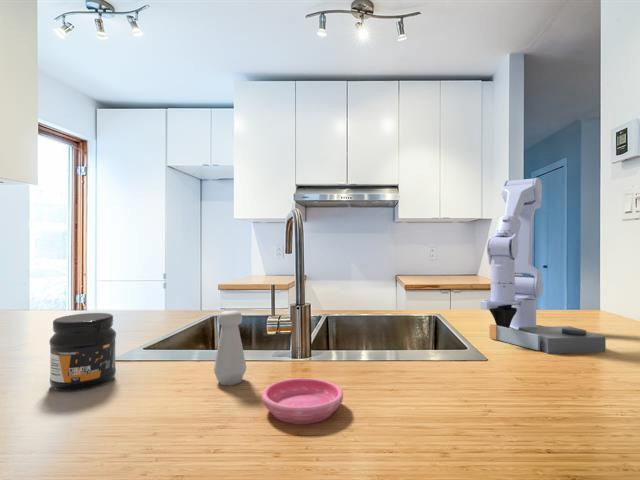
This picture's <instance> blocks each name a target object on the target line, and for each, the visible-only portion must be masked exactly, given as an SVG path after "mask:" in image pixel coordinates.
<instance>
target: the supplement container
mask: <svg viewBox="0 0 640 480" xmlns="http://www.w3.org/2000/svg"><path fill="white" fill-rule="evenodd" d="M112 326H114V315H113V314H111V313H107V312H89V313H87V312H86V313H78V314H70V315H65V316H64V315H63V316H61V317H57V318H55V319H53V321H52V332H53V333H54V334H53V335H52V336H51V337H50V339H49V346H50V347H49V349H50V351H49V352H50V354H49V357H50V358H49V359H50V363H49V364H50V366H49V369H50V370H49V371H50V373H49V374H50V377H49V384H50V386H51V387H52V388H53V389H55V390H58V391H61V392H76V391H84V390H89V389H94V388H96V387H100V386H102V385H105V384H107V383H109V382H110V381H111V380H113V378H114V377H115V376H116V373H117V368H116V339H117V332H116V331H115V330H114V328H113V327H112Z"/></svg>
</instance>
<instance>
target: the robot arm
mask: <svg viewBox="0 0 640 480" xmlns="http://www.w3.org/2000/svg"><path fill="white" fill-rule="evenodd" d="M501 196H502V199H503V200H504V203H505V208H504V213H503V215H502V216H500V217H499V218H498V221H497V223H496V225H495V226H496V227H495V230H494V233H493V236H492V237H491V238H489V239H488V240H487V242H486V243H487V245H486V253H487V257H488V264H489V266H490V298H488V299H485V300H480V309H481V310H486V311H487V310H488V311H489V312H490V314H491V315H492V317H493V318H494V319H493V320H494V323H495V325H498V326H502V327H506V328H511V329H515V330H519V327H540V326H538V325H537V299H538V298H540V297H541V296H542V294H543V285H544V283H543V274H542V272H541V270H539V269H538V268H536V267H535V266H534V265H533V264H532V262H533V261H532V260H533V237H534V216H535V212H536V211H537V210H538V209H540V208H541V207H542V206H541V205H542V201H543V185H542V180H541V179H540V178H539V177H534V178H526V179H515V180H505V181H503V182H502V185H501Z"/></svg>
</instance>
